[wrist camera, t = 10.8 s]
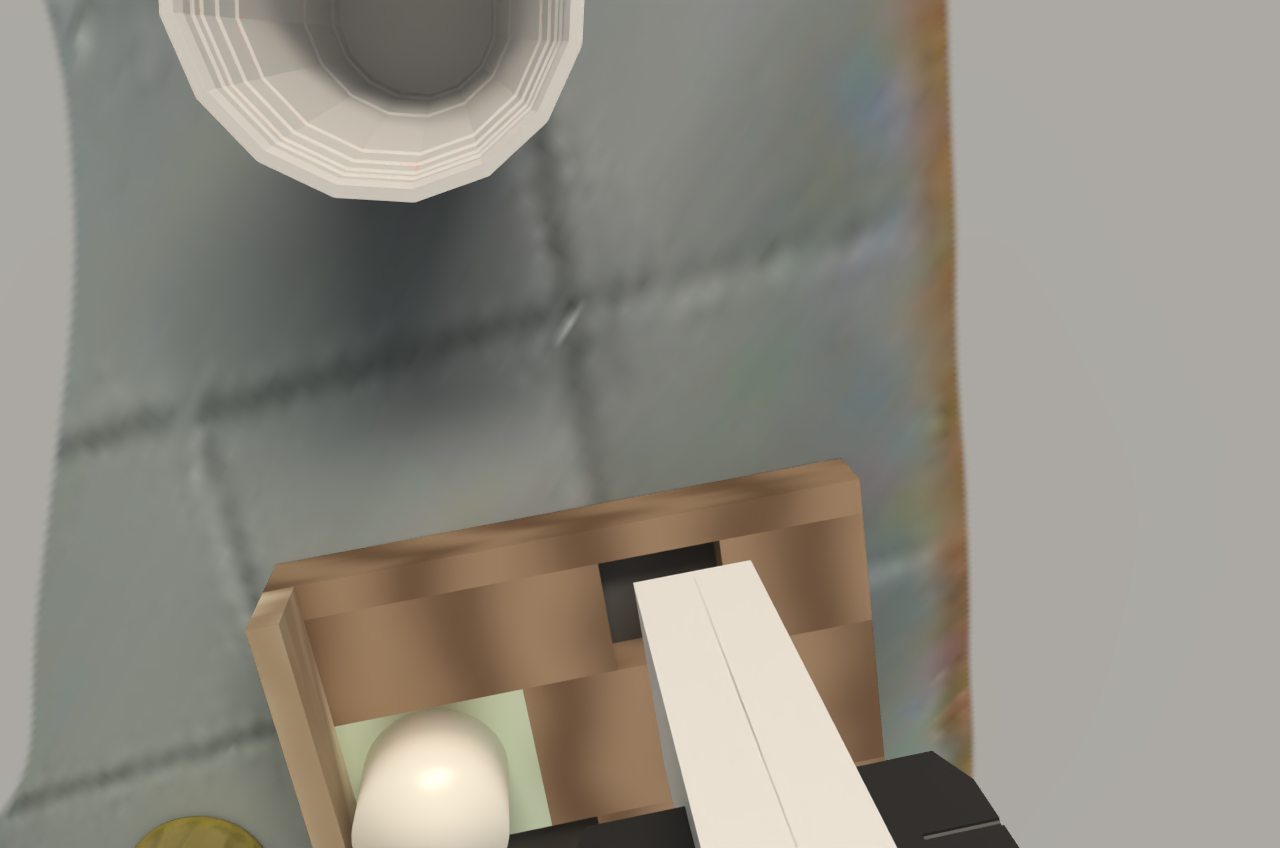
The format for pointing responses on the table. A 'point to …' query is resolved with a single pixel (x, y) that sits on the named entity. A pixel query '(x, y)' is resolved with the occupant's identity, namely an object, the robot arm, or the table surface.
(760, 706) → the robot arm
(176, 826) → the vase
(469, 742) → the white rounded block
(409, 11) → the plastic cup
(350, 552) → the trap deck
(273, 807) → the table surface
